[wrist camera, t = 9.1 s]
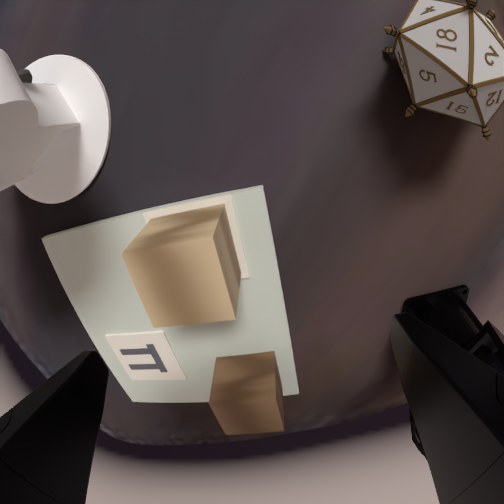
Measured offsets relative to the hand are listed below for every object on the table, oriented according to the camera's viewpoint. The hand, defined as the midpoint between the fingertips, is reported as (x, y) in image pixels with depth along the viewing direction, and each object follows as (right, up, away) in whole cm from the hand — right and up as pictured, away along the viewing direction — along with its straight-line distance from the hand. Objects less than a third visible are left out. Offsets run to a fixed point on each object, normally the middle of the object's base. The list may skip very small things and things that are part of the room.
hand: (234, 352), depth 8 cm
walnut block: (0, -8, +18) cm, 20 cm away
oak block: (-3, +3, +12) cm, 13 cm away
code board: (-6, -3, +16) cm, 18 cm away
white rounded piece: (-14, +12, +9) cm, 21 cm away
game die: (+12, +15, +7) cm, 20 cm away
